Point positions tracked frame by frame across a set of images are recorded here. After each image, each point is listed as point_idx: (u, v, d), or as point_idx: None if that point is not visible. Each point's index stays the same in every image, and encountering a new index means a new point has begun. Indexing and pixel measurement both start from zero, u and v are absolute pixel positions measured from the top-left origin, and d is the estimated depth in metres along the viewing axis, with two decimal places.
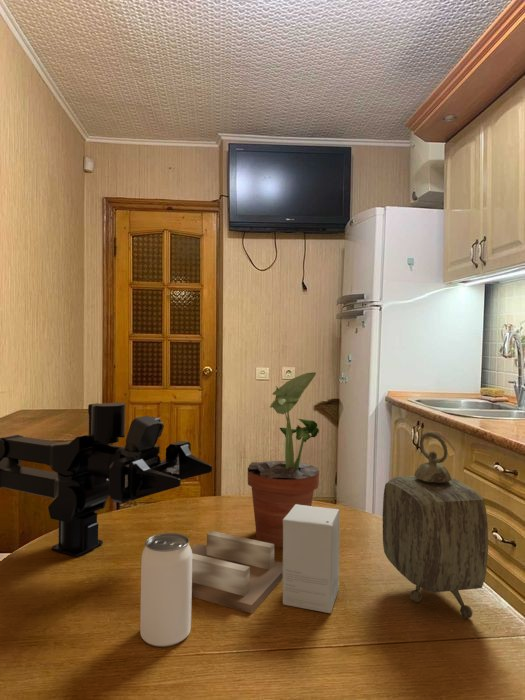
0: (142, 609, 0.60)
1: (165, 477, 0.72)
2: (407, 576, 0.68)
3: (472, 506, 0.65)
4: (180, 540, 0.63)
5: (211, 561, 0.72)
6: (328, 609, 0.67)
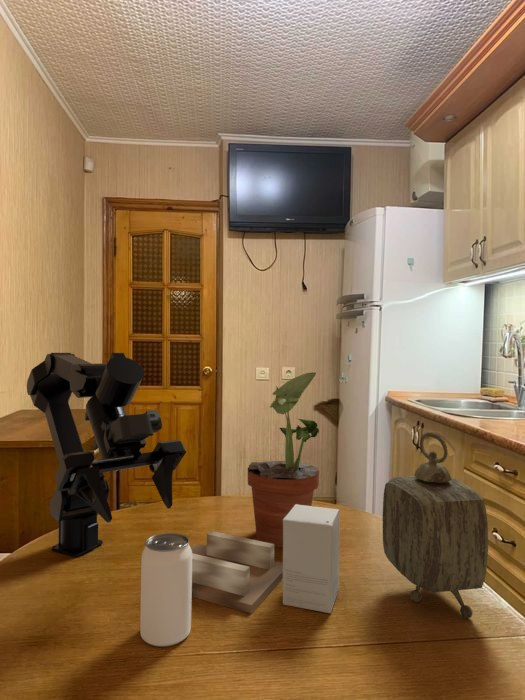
0: (142, 609, 0.60)
1: (101, 506, 0.65)
2: (407, 576, 0.68)
3: (472, 506, 0.65)
4: (180, 540, 0.63)
5: (211, 561, 0.72)
6: (328, 609, 0.67)
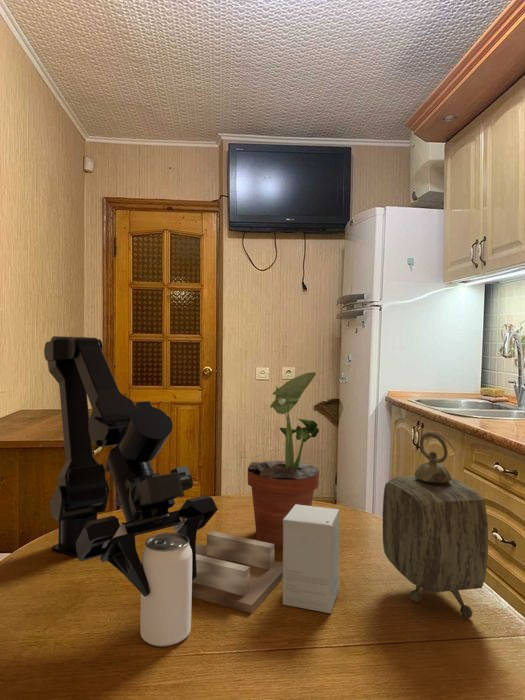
0: (142, 609, 0.60)
1: (138, 578, 0.59)
2: (407, 576, 0.68)
3: (472, 506, 0.65)
4: (180, 540, 0.63)
5: (211, 561, 0.72)
6: (328, 609, 0.67)
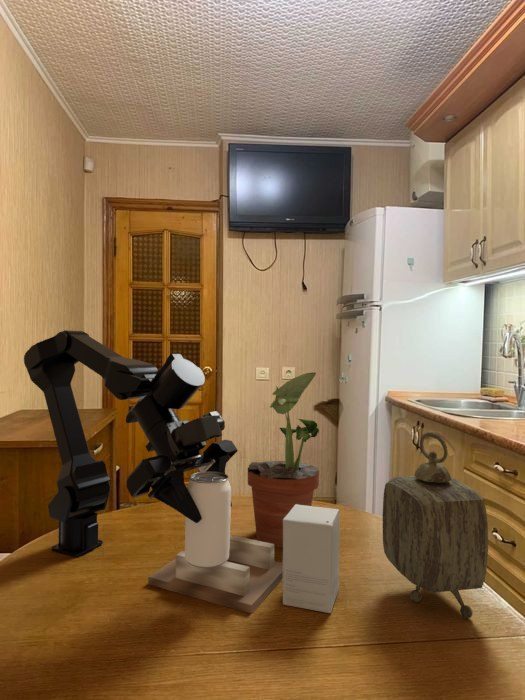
0: (190, 537, 0.67)
1: (190, 507, 0.66)
2: (407, 576, 0.68)
3: (472, 506, 0.65)
4: (218, 476, 0.71)
5: None
6: (328, 609, 0.67)
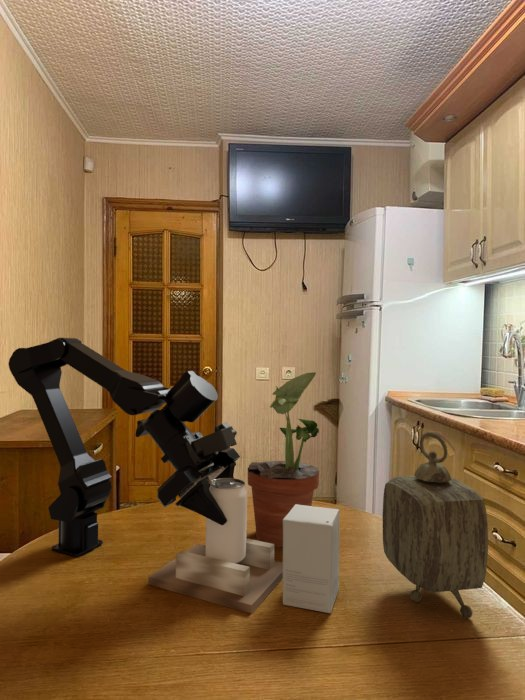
0: (215, 539, 0.74)
1: (217, 511, 0.72)
2: (407, 576, 0.68)
3: (472, 506, 0.65)
4: (233, 482, 0.78)
5: (211, 561, 0.72)
6: (328, 609, 0.67)
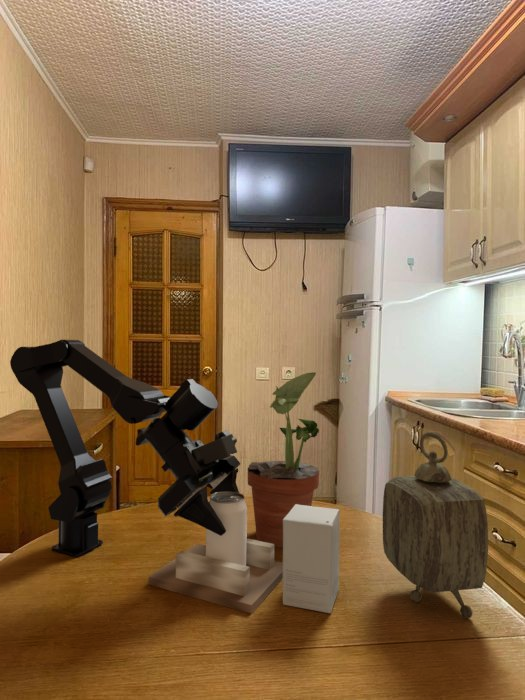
0: (215, 553, 0.74)
1: (216, 521, 0.72)
2: (407, 576, 0.68)
3: (472, 506, 0.65)
4: (233, 495, 0.78)
5: (211, 561, 0.72)
6: (328, 609, 0.67)
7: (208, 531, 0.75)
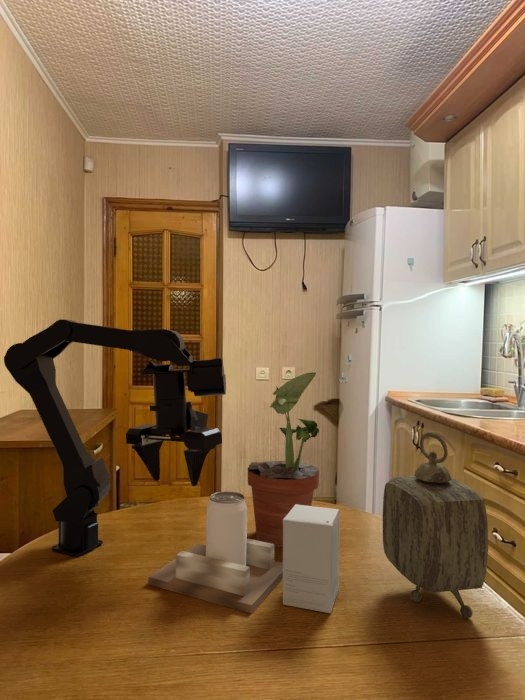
0: (215, 553, 0.74)
1: (200, 473, 0.85)
2: (407, 576, 0.68)
3: (472, 506, 0.65)
4: (233, 495, 0.78)
5: (211, 561, 0.72)
6: (328, 609, 0.67)
7: (208, 531, 0.75)
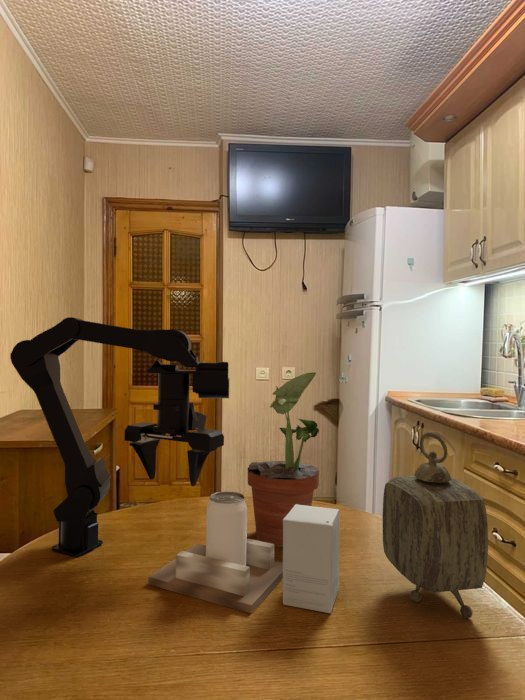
0: (215, 553, 0.74)
1: (199, 474, 0.86)
2: (407, 576, 0.68)
3: (472, 506, 0.65)
4: (233, 495, 0.78)
5: (211, 561, 0.72)
6: (328, 609, 0.67)
7: (208, 531, 0.75)
